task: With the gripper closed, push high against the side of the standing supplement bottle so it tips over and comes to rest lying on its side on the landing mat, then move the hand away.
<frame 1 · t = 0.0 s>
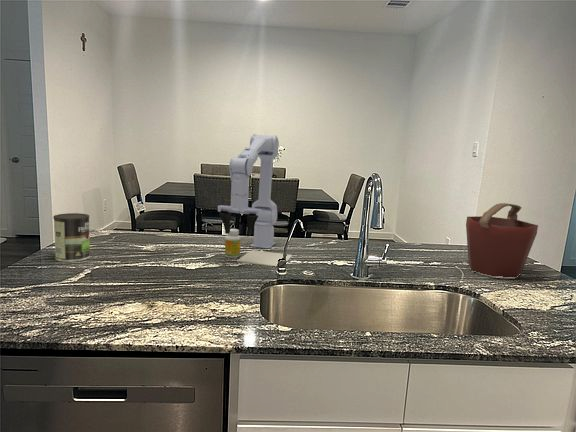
hand: (238, 234, 139), 10 cm above the worktop, tool pointing down, fingers open, 7 cm apart
landing mat: (265, 258, 148), on the worktop
coffee can: (72, 258, 136), on the worktop
bucket: (495, 273, 148), on the worktop
supplement bottle: (232, 256, 149), on the worktop
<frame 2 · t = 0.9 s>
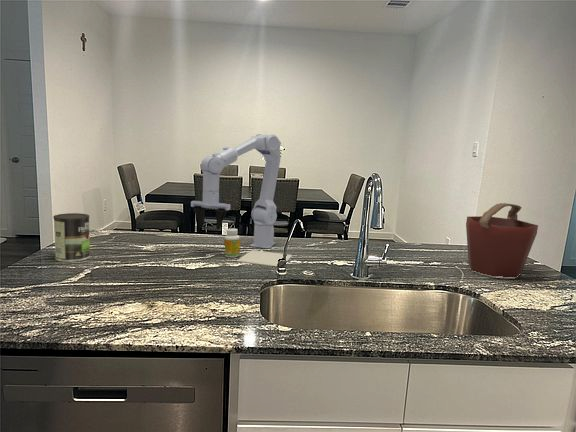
hand: (209, 228, 150), 9 cm above the worktop, tool pointing down, fingers open, 6 cm apart
nothing on the worktop moved.
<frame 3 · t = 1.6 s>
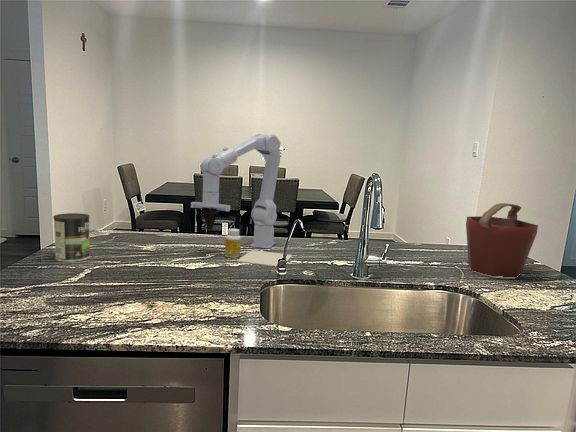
hand: (209, 229, 150), 9 cm above the worktop, tool pointing down, fingers closed
nothing on the worktop moved.
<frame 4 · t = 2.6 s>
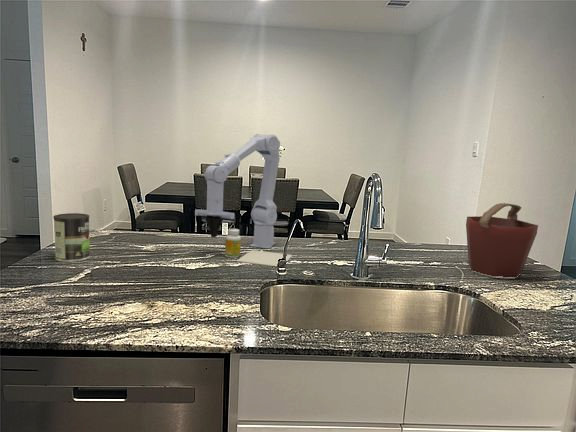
hand: (214, 236, 150), 6 cm above the worktop, tool pointing down, fingers closed
nothing on the worktop moved.
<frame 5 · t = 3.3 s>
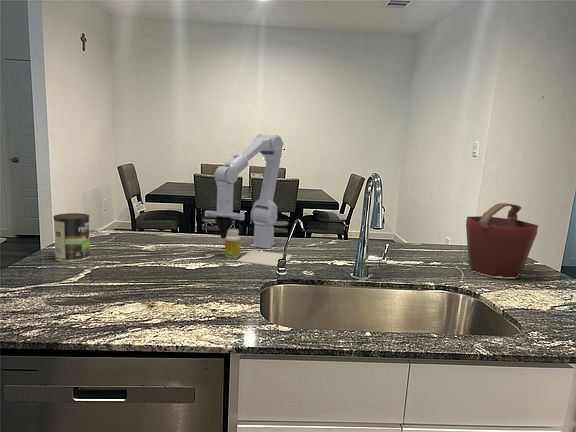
hand: (223, 237, 149), 6 cm above the worktop, tool pointing down, fingers closed
supplement bottle: (232, 256, 149), on the worktop, touching gripper
everything else where it was.
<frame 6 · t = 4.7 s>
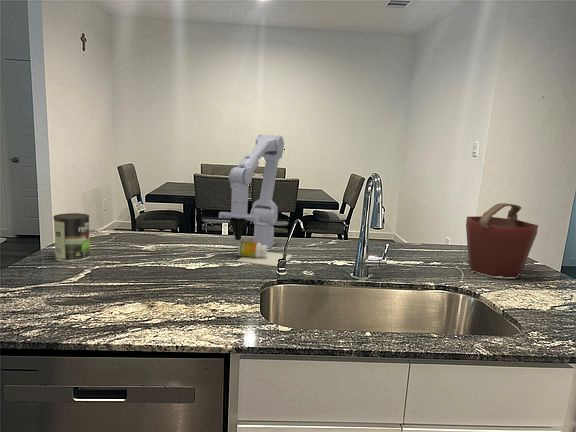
hand: (238, 239, 148), 6 cm above the worktop, tool pointing down, fingers closed
supplement bottle: (239, 248, 149), point 3 cm above the worktop, touching landing mat
everything else where it was.
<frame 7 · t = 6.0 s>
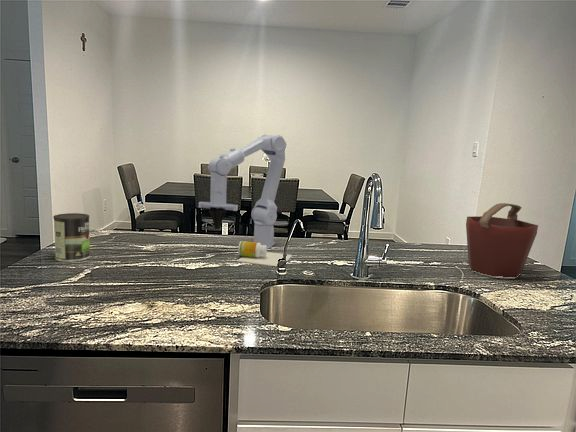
hand: (217, 228, 152), 9 cm above the worktop, tool pointing down, fingers closed
nothing on the worktop moved.
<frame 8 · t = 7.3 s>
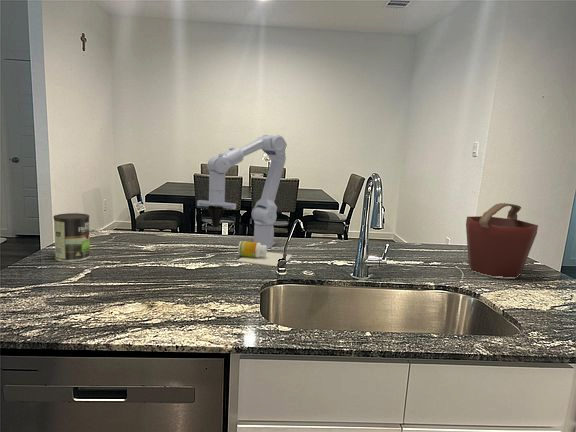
hand: (215, 226, 153), 9 cm above the worktop, tool pointing down, fingers closed
nothing on the worktop moved.
at the end: supplement bottle tilted 90°; supplement bottle inside the target area (6.1 cm from its centre), point 3.1 cm above the worktop; the gripper is holding nothing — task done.
